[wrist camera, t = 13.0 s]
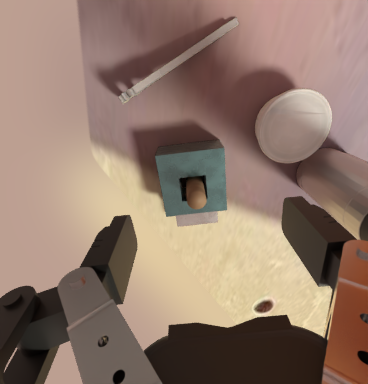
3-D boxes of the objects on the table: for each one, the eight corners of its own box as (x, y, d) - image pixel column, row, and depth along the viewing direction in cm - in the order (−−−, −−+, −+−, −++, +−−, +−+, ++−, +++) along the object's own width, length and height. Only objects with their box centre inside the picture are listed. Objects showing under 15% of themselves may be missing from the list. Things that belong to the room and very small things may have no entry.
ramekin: (302, 72, 36) (321, 71, 31) (322, 133, 40) (341, 140, 35) (238, 111, 38) (246, 116, 33) (263, 164, 42) (274, 175, 38)
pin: (200, 167, 42) (205, 190, 33) (202, 181, 44) (207, 207, 35) (184, 169, 43) (185, 193, 34) (186, 183, 44) (188, 210, 35)
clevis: (218, 139, 40) (224, 147, 35) (222, 212, 47) (227, 228, 42) (158, 146, 41) (155, 156, 36) (170, 218, 47) (169, 234, 43)
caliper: (127, 102, 37) (117, 106, 32) (123, 96, 37) (113, 99, 31) (238, 25, 33) (250, 13, 27) (235, 17, 32) (246, 4, 27)
